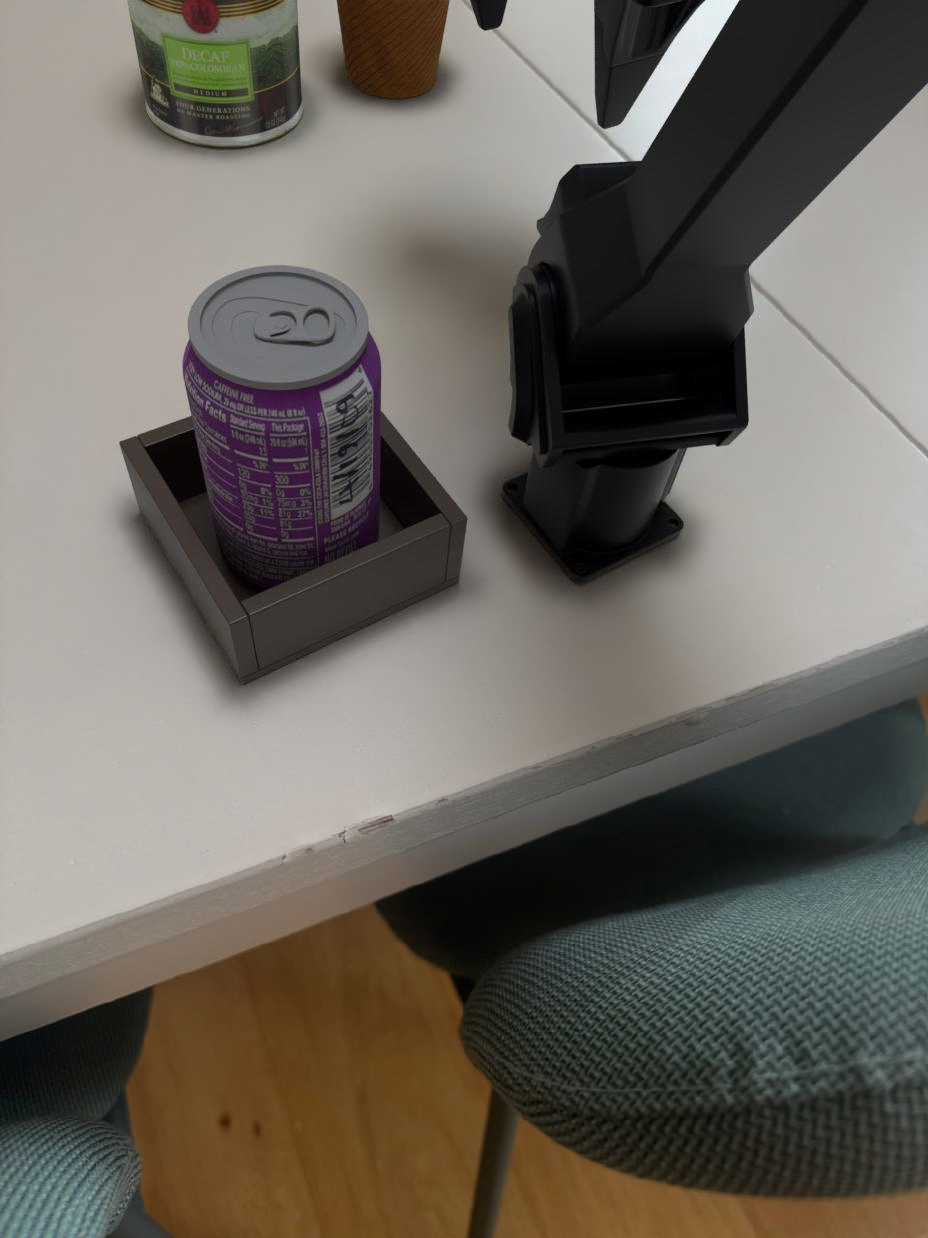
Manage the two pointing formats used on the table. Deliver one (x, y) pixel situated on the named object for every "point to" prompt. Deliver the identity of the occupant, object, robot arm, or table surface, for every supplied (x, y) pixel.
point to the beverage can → (285, 419)
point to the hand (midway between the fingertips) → (546, 74)
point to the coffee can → (219, 68)
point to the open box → (319, 599)
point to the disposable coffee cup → (392, 44)
